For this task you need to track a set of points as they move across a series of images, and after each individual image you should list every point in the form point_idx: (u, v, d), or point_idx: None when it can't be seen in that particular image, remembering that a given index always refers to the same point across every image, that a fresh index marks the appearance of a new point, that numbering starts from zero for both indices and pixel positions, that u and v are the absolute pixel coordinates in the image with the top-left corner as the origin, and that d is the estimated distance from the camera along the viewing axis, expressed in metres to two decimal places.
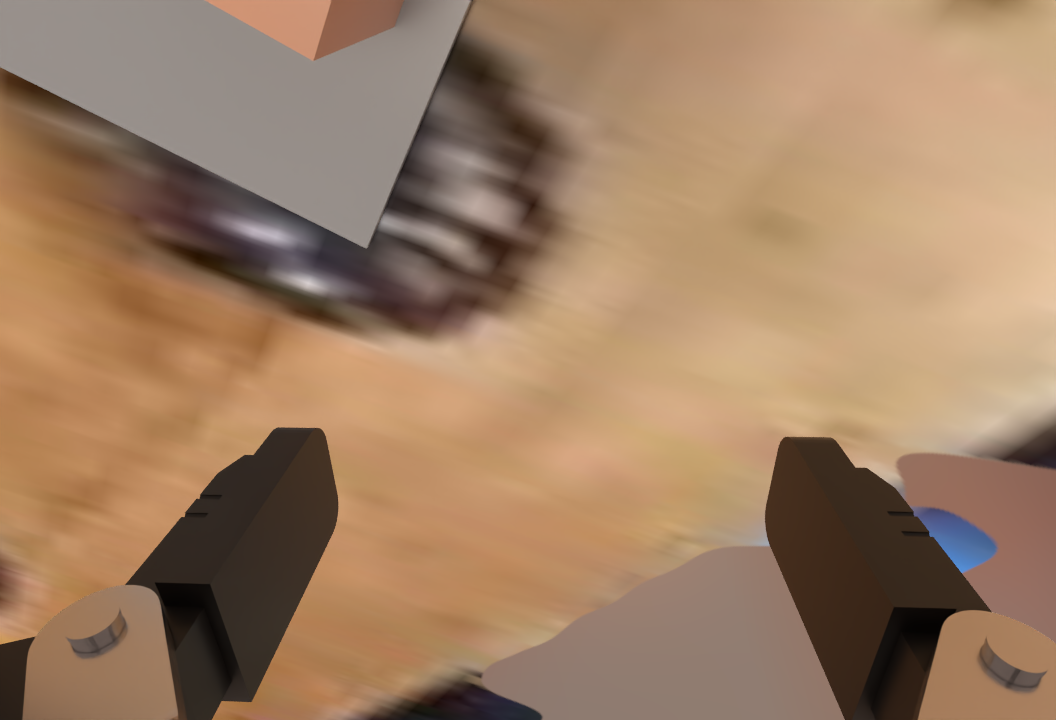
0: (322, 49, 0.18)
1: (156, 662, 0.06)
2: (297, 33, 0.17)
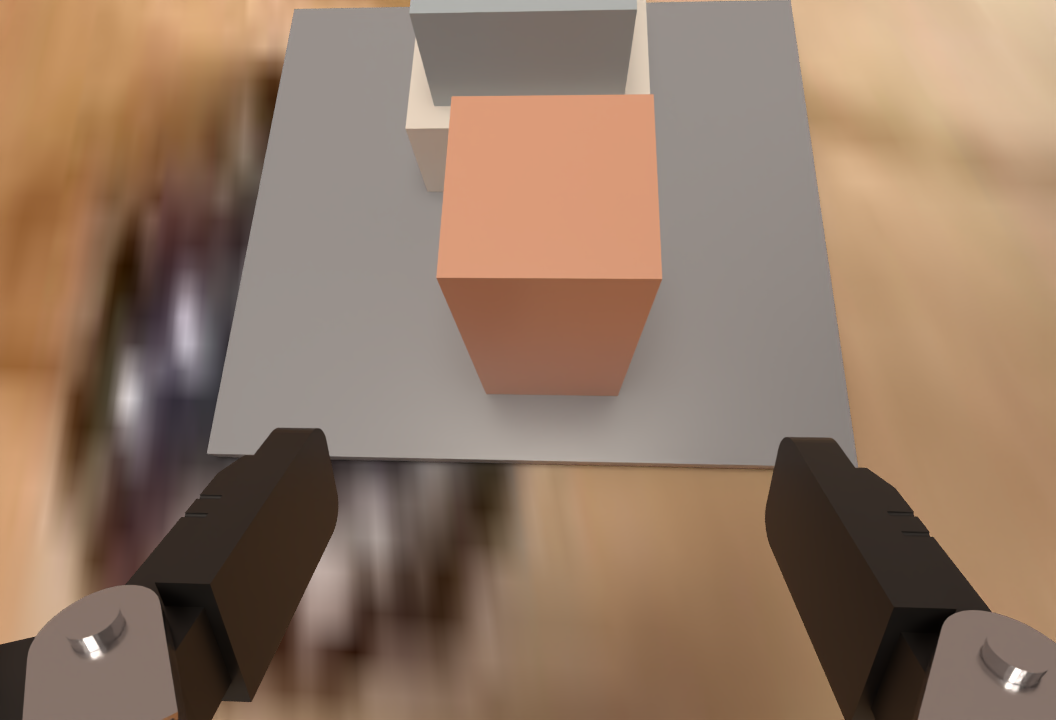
0: (452, 287, 0.14)
1: (156, 662, 0.06)
2: (459, 253, 0.13)
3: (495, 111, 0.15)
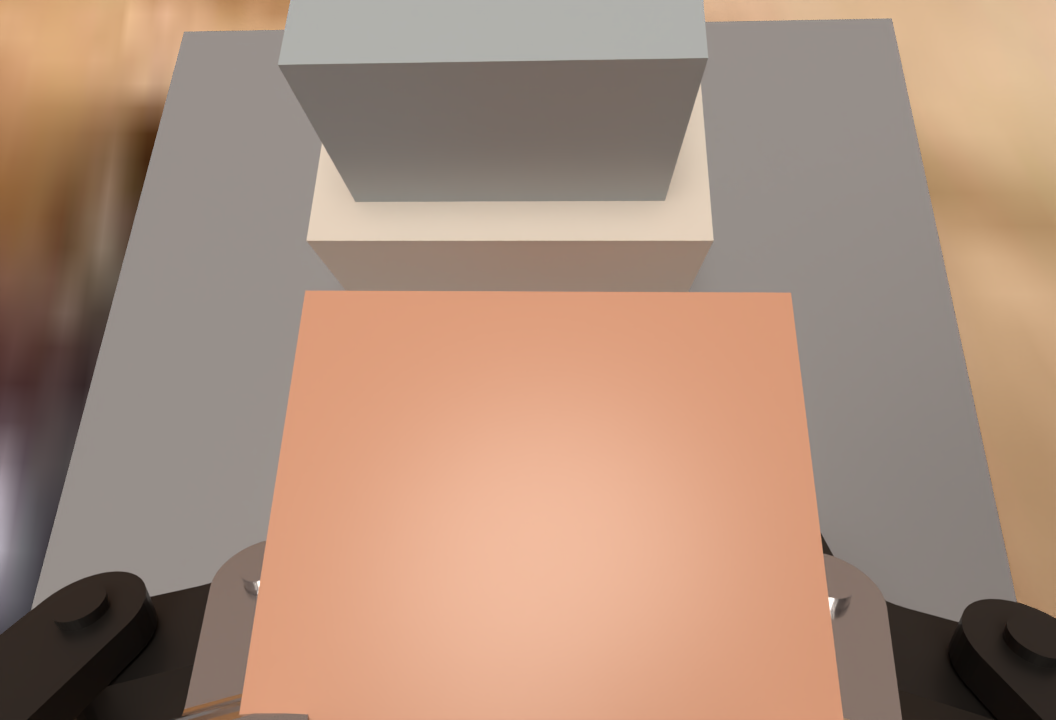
0: None
1: None
2: None
3: (407, 331, 0.06)
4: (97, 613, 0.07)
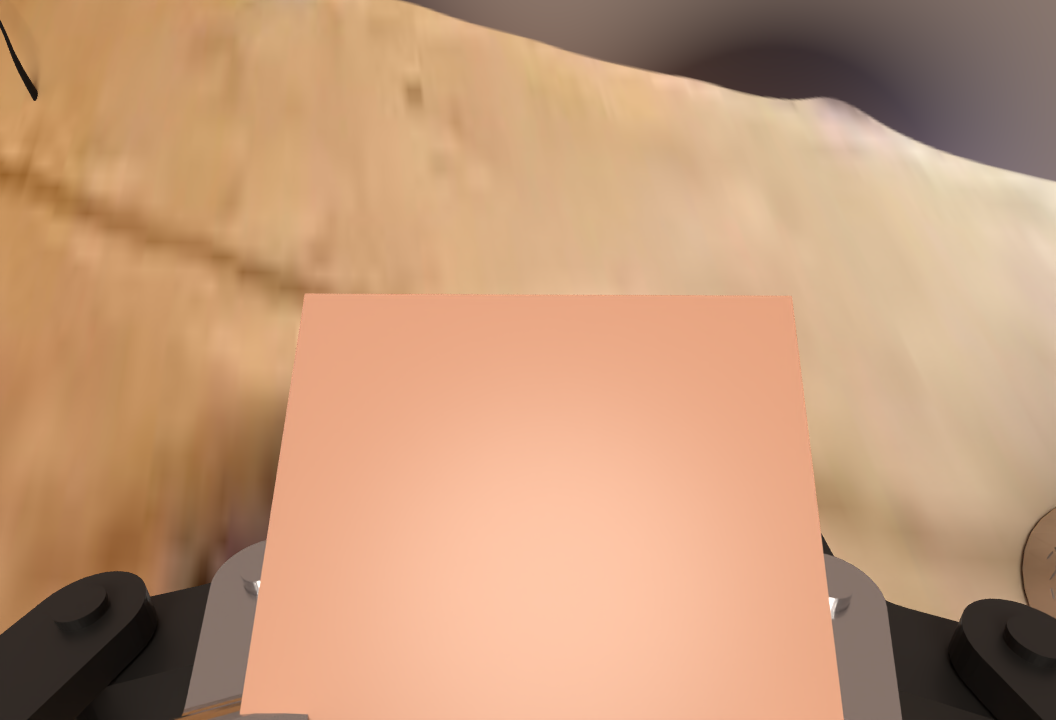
0: None
1: None
2: None
3: (406, 336, 0.06)
4: (97, 613, 0.07)
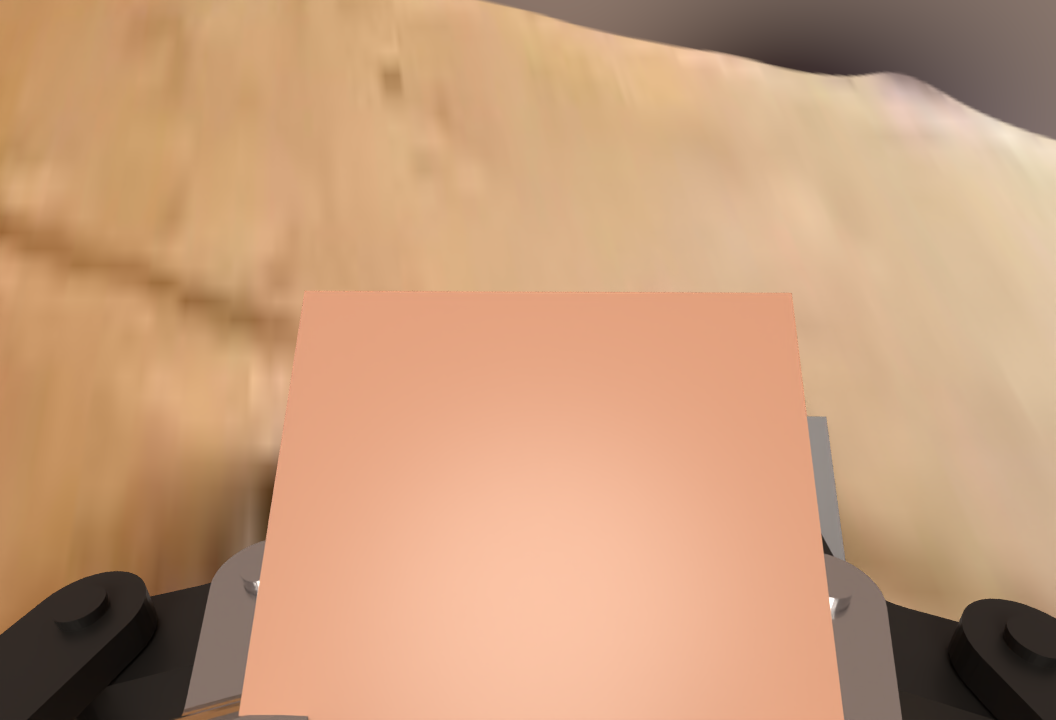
0: None
1: None
2: None
3: (406, 332, 0.06)
4: (97, 613, 0.07)
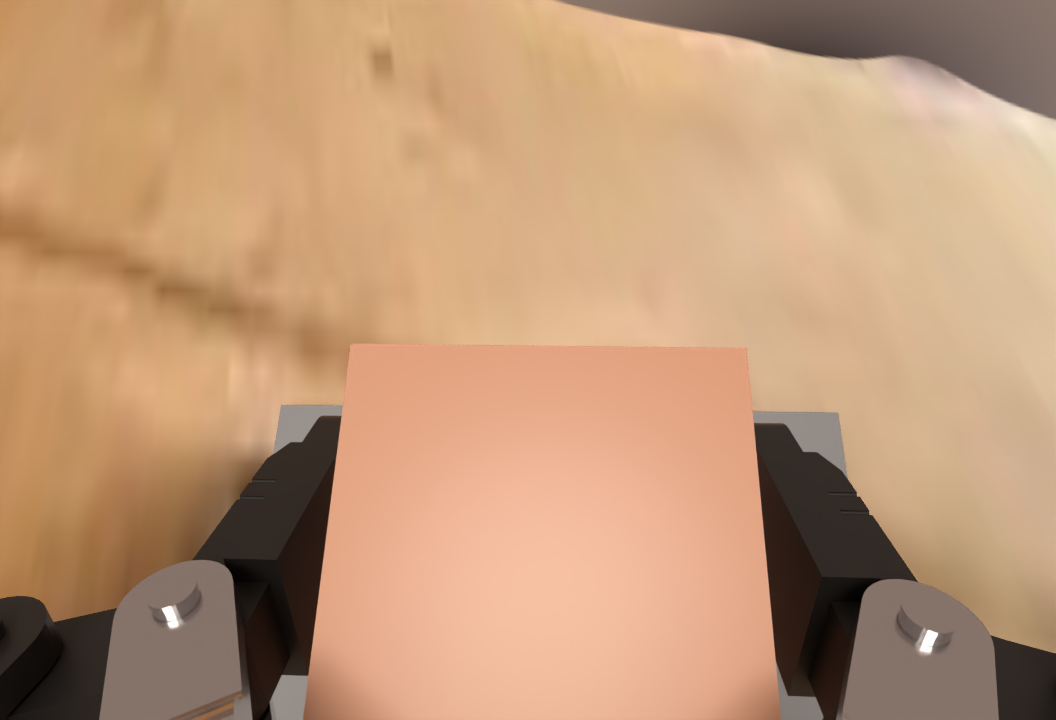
0: None
1: (236, 630, 0.06)
2: None
3: (435, 379, 0.07)
4: None
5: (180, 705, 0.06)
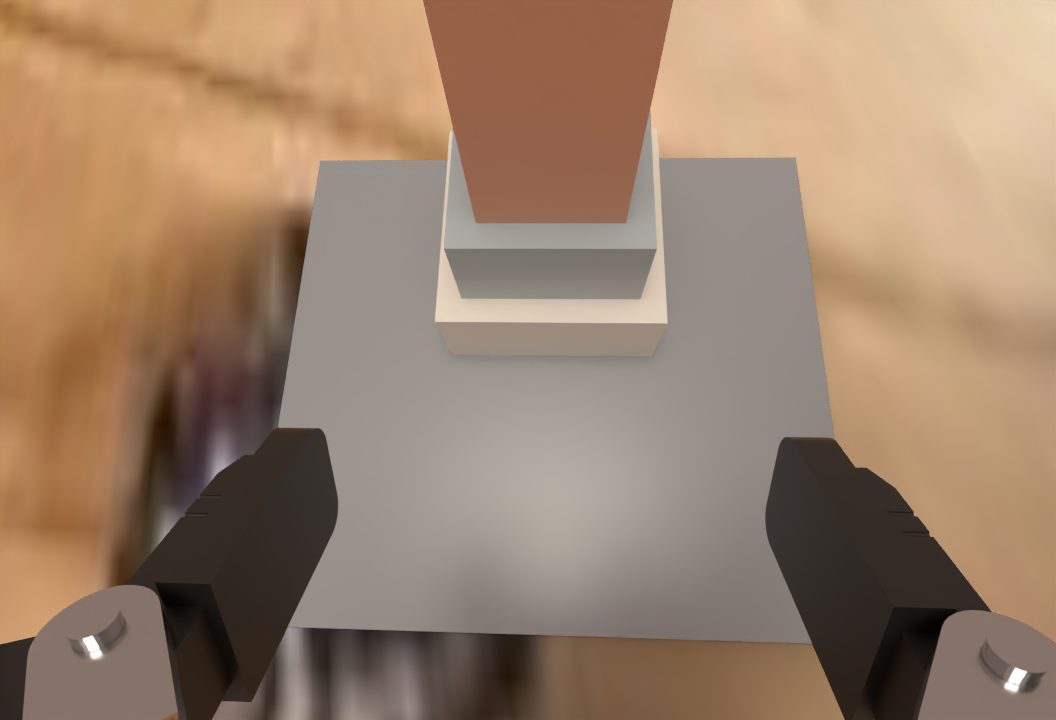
0: None
1: (156, 662, 0.06)
2: None
3: None
4: None
5: None
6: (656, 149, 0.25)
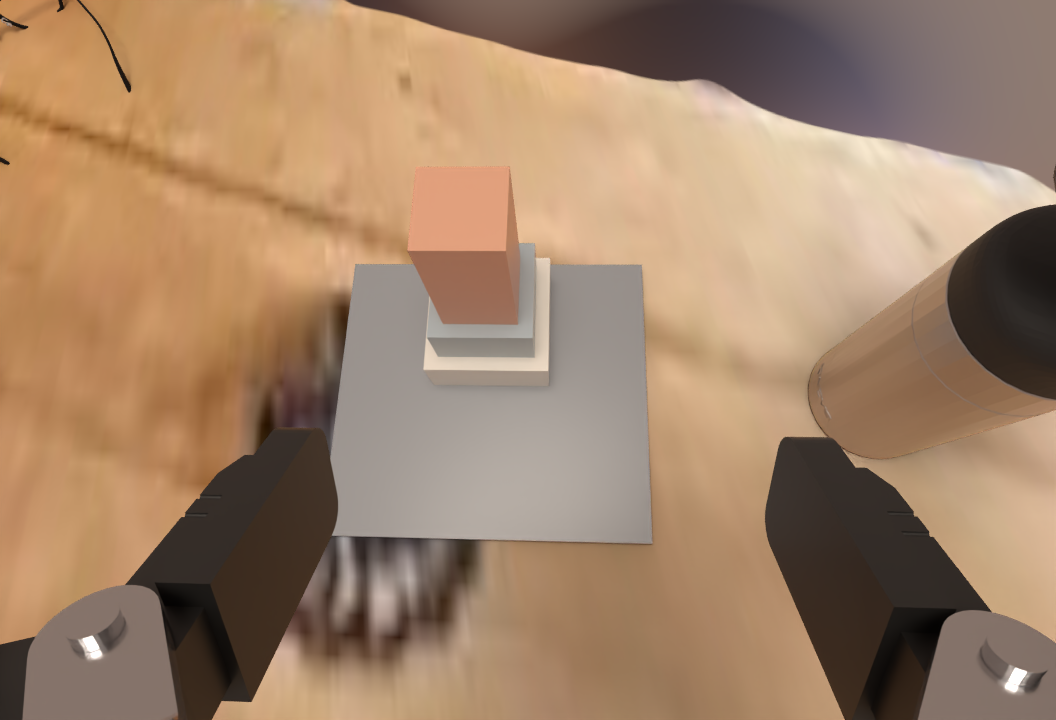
0: (414, 255, 0.31)
1: (156, 662, 0.06)
2: (418, 239, 0.30)
3: (436, 174, 0.32)
4: None
5: None
6: (548, 270, 0.45)
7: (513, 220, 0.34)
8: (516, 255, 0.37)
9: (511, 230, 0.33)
